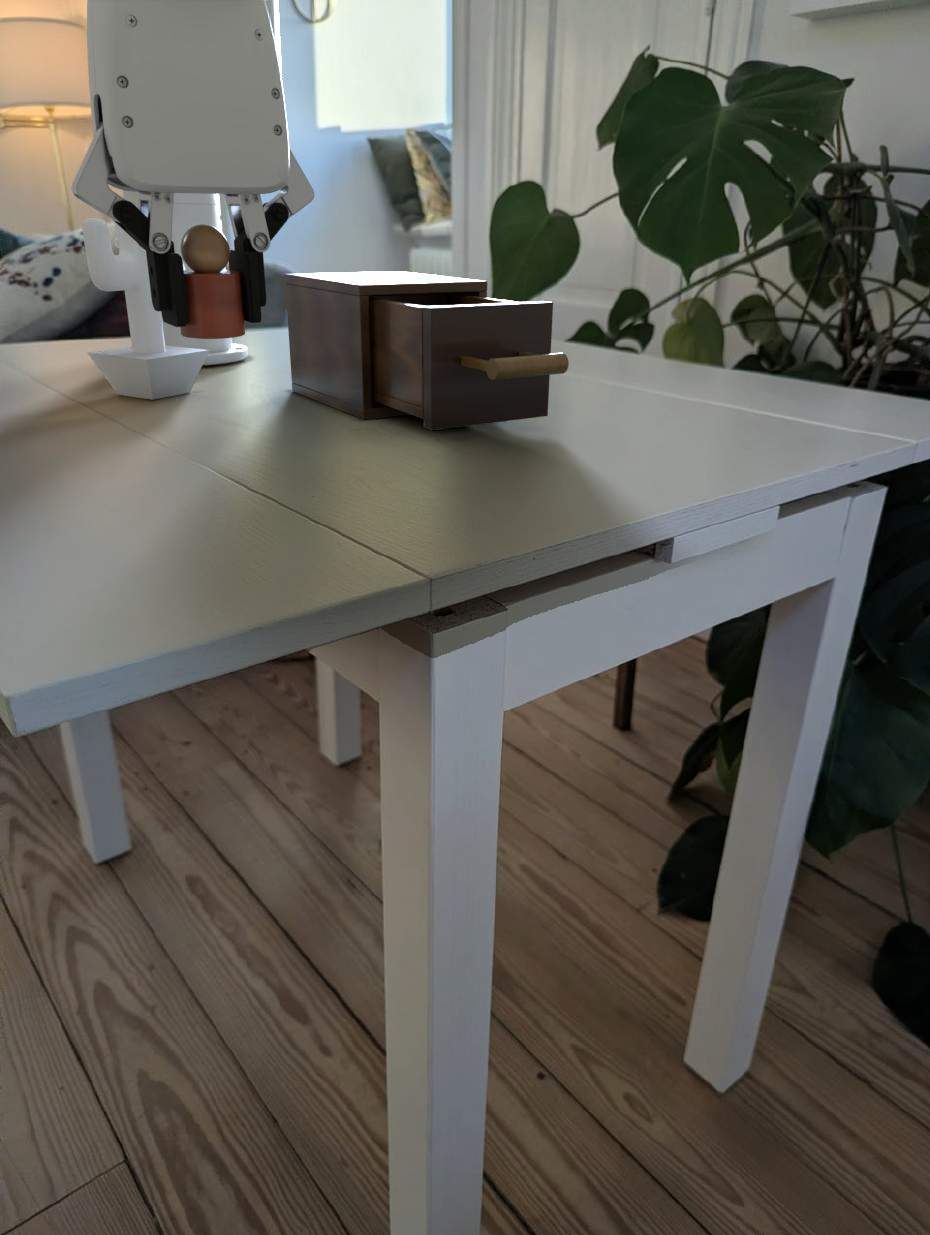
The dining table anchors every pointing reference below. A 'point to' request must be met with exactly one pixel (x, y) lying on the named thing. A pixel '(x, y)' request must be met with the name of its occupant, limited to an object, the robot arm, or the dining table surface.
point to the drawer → (462, 357)
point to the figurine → (136, 321)
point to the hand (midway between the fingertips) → (211, 319)
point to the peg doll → (211, 286)
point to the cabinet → (348, 332)
